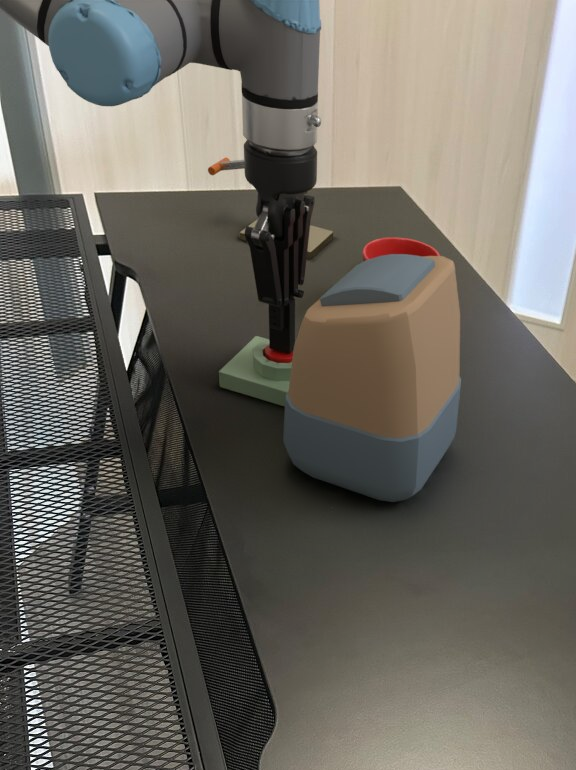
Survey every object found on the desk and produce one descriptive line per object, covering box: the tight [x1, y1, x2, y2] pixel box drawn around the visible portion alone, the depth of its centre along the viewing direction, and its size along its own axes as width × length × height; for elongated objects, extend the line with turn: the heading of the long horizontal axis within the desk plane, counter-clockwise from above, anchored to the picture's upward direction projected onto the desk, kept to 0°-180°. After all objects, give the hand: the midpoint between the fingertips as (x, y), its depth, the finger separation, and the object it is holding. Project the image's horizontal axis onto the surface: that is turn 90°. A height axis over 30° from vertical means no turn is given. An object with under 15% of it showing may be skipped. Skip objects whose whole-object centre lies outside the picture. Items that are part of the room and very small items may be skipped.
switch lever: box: [207, 157, 245, 176], centre depth 130 cm, size 14×5×2 cm, turn 72°
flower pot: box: [361, 236, 441, 262], centre depth 120 cm, size 11×11×10 cm
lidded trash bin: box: [282, 254, 462, 503], centre depth 91 cm, size 17×17×23 cm
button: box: [265, 345, 294, 363], centre depth 106 cm, size 4×4×2 cm
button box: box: [218, 335, 292, 408], centre depth 107 cm, size 12×10×4 cm
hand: (282, 348), depth 105 cm, fingers closed
